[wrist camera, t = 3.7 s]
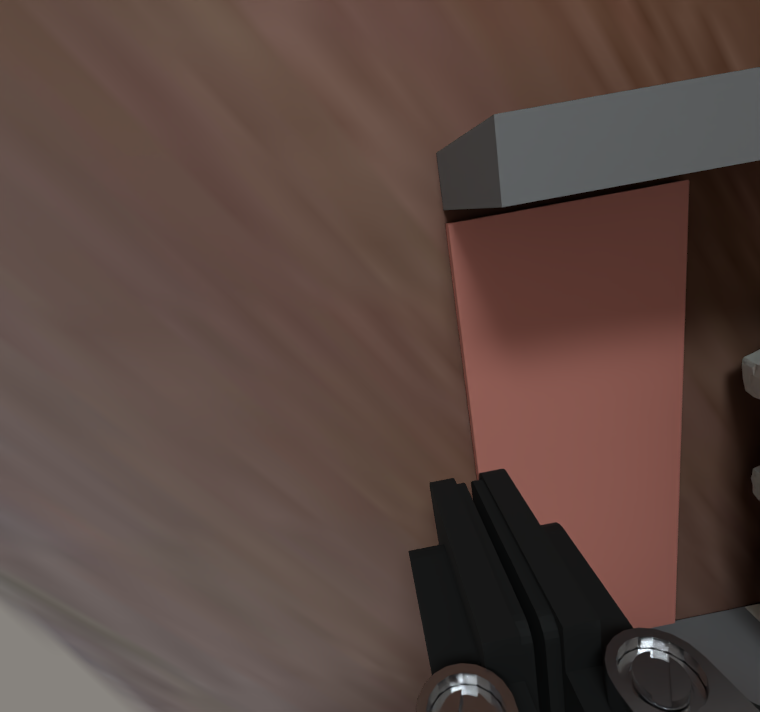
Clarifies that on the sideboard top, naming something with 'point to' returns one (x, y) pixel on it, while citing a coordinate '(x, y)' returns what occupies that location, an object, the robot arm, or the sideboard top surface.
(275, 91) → the sideboard top surface
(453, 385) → the sideboard top surface
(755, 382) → the egg carton
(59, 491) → the sideboard top surface
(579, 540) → the frame
